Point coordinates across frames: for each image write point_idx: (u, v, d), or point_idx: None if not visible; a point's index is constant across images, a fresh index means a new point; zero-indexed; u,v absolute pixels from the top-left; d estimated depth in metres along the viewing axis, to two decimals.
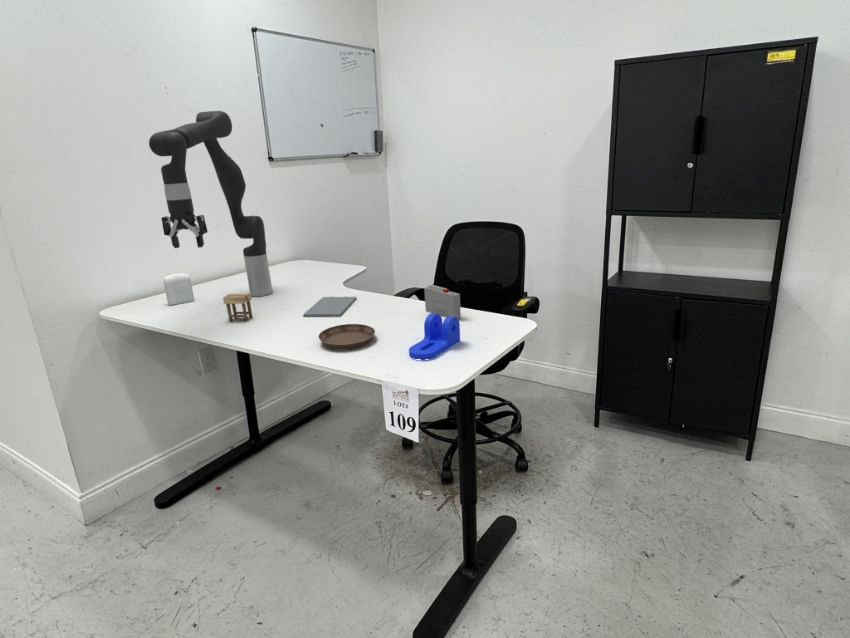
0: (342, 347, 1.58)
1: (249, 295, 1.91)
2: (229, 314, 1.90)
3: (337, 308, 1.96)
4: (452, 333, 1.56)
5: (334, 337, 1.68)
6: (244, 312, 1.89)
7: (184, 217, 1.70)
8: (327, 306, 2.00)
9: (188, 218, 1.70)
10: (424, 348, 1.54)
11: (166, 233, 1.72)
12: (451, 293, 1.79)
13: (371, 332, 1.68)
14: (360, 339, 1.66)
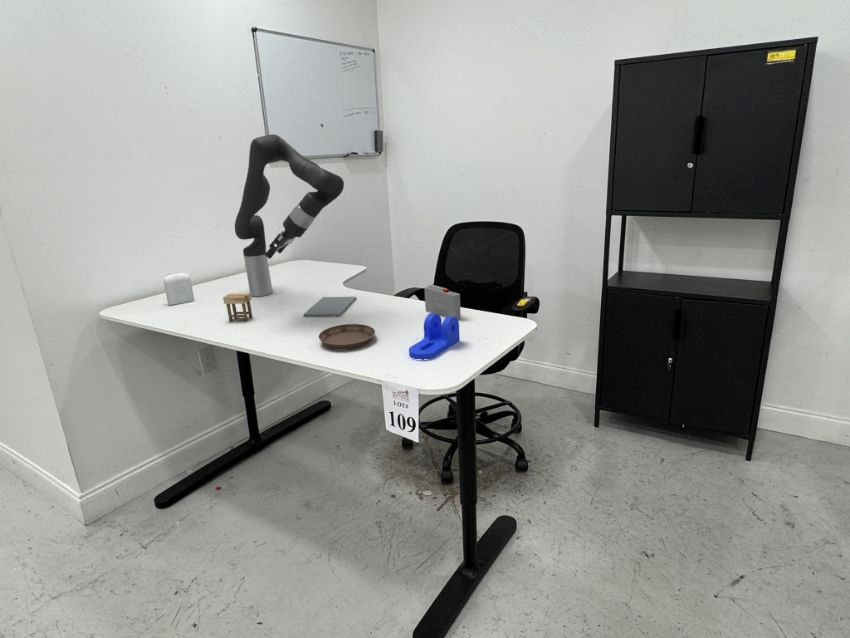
0: (342, 347, 1.58)
1: (249, 295, 1.91)
2: (229, 314, 1.90)
3: (337, 308, 1.96)
4: (451, 333, 1.56)
5: (334, 337, 1.68)
6: (244, 312, 1.89)
7: (293, 234, 1.80)
8: (327, 306, 2.00)
9: None
10: (424, 348, 1.54)
11: None
12: (451, 293, 1.79)
13: (371, 332, 1.68)
14: (360, 339, 1.66)
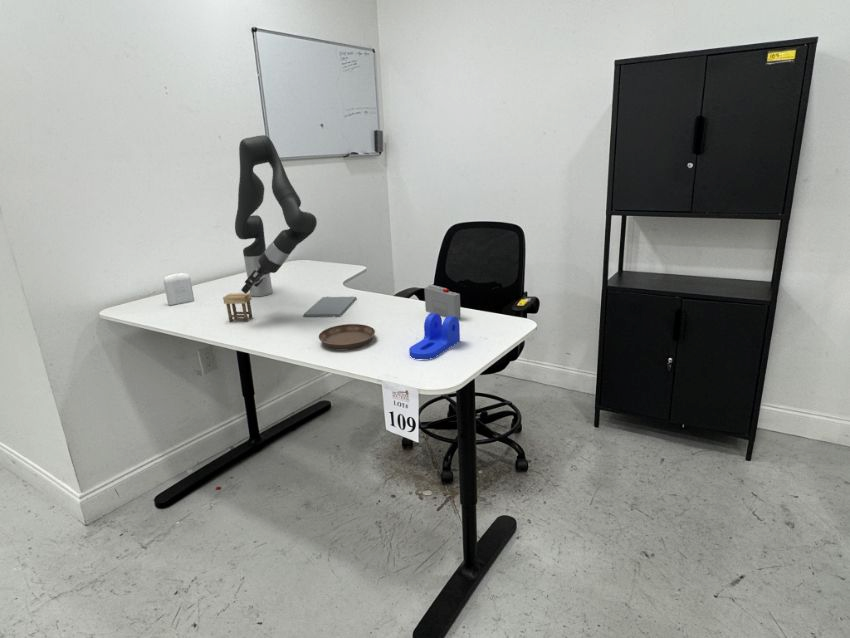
0: (342, 347, 1.58)
1: (249, 295, 1.91)
2: (229, 314, 1.90)
3: (337, 308, 1.96)
4: (452, 333, 1.56)
5: (334, 337, 1.68)
6: (244, 312, 1.89)
7: None
8: (327, 306, 2.00)
9: None
10: (424, 348, 1.54)
11: None
12: (451, 293, 1.79)
13: (371, 332, 1.68)
14: (360, 339, 1.66)
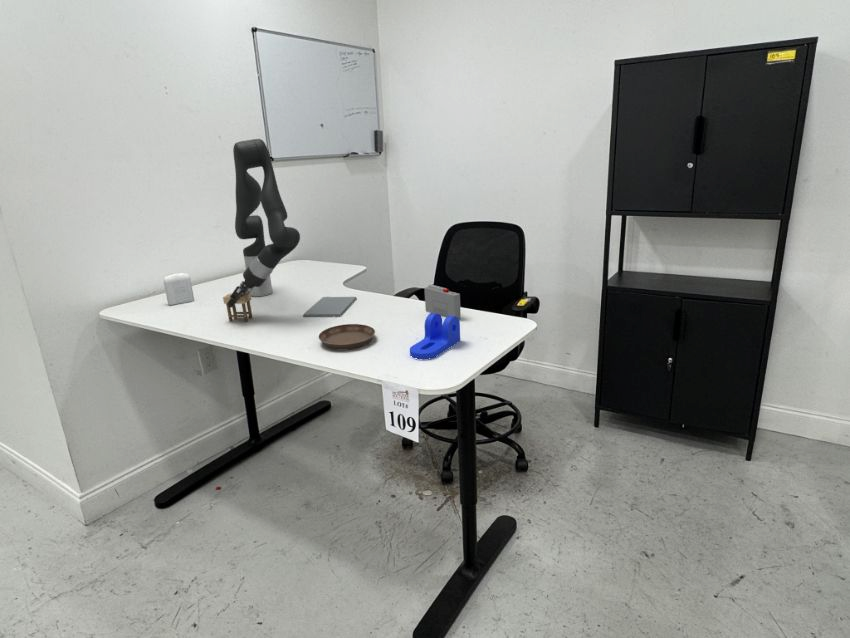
0: (342, 347, 1.58)
1: (249, 295, 1.91)
2: (229, 314, 1.90)
3: (337, 308, 1.96)
4: (452, 333, 1.56)
5: (334, 337, 1.68)
6: (244, 312, 1.89)
7: None
8: (327, 306, 2.00)
9: None
10: (425, 347, 1.54)
11: None
12: (451, 293, 1.79)
13: (371, 332, 1.68)
14: (360, 339, 1.66)
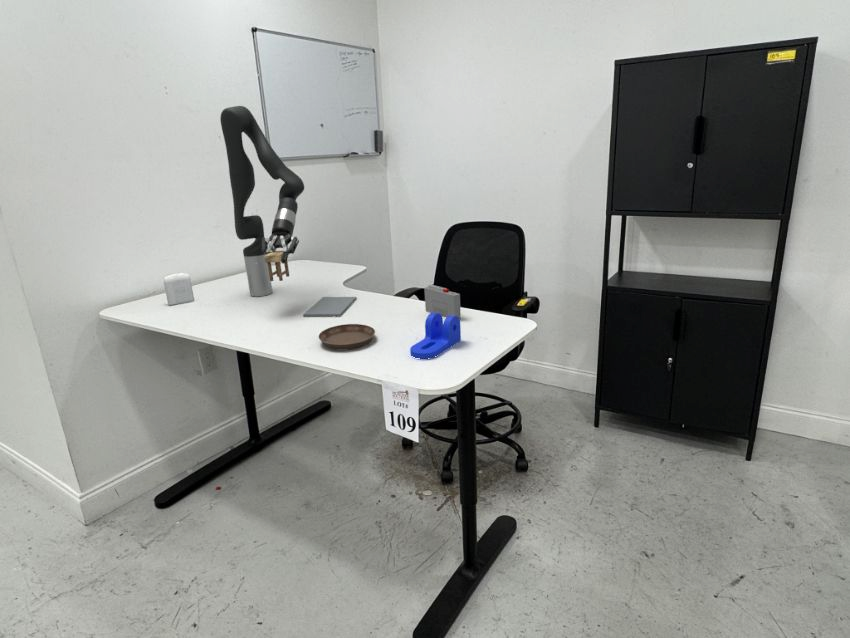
0: (342, 347, 1.58)
1: None
2: (281, 272, 1.88)
3: (337, 308, 1.96)
4: (453, 332, 1.56)
5: (334, 337, 1.68)
6: (287, 266, 1.93)
7: None
8: (327, 306, 2.00)
9: None
10: (425, 347, 1.54)
11: None
12: (451, 293, 1.79)
13: (371, 332, 1.68)
14: (360, 339, 1.66)
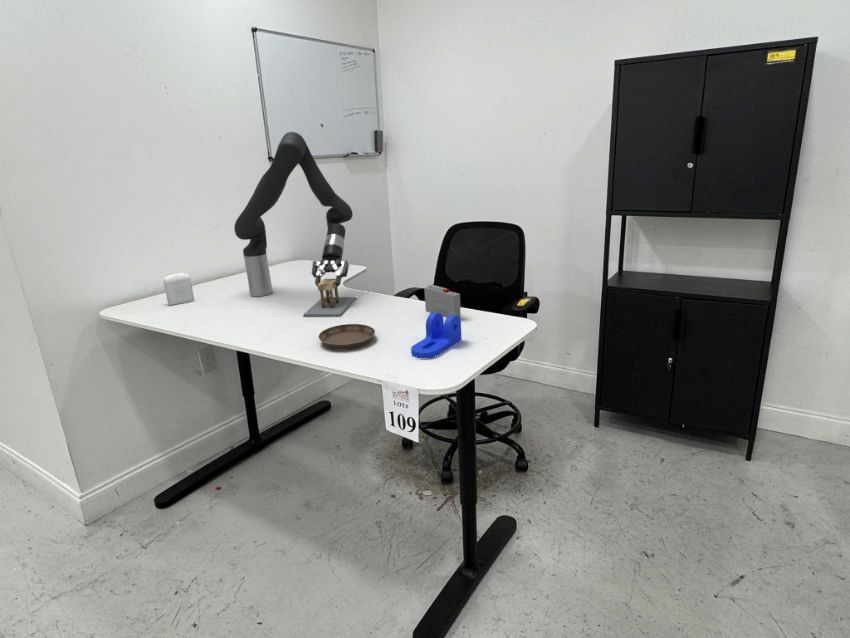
0: (342, 347, 1.58)
1: None
2: (333, 300, 1.97)
3: (337, 308, 1.96)
4: (453, 332, 1.56)
5: (334, 337, 1.68)
6: (337, 293, 2.02)
7: None
8: (327, 306, 2.00)
9: None
10: (426, 347, 1.55)
11: None
12: (451, 293, 1.79)
13: (371, 332, 1.68)
14: (360, 339, 1.66)
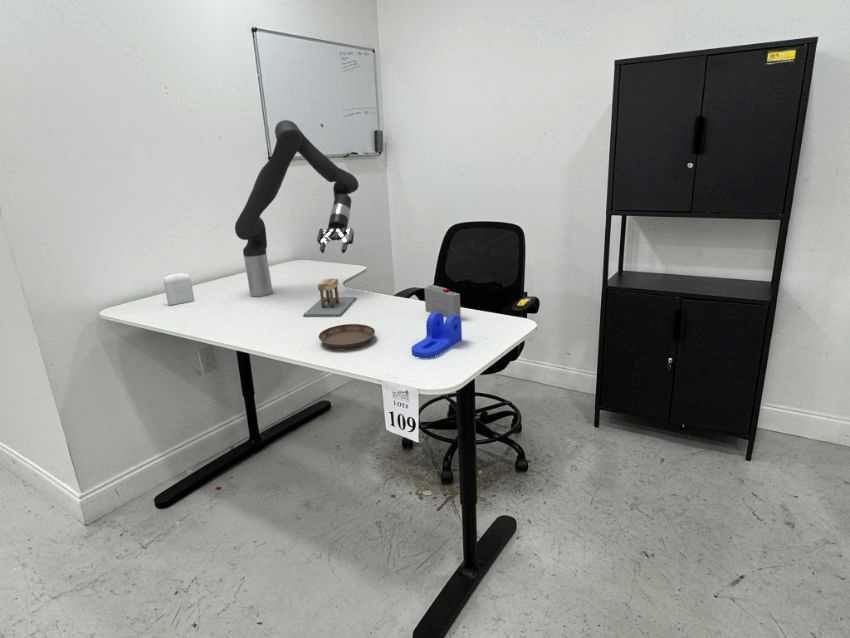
0: (342, 347, 1.58)
1: None
2: (333, 300, 1.97)
3: (337, 308, 1.96)
4: (454, 332, 1.57)
5: (334, 337, 1.68)
6: (337, 293, 2.02)
7: None
8: (327, 306, 2.00)
9: None
10: (426, 346, 1.55)
11: None
12: (451, 293, 1.79)
13: (371, 332, 1.68)
14: (360, 339, 1.66)
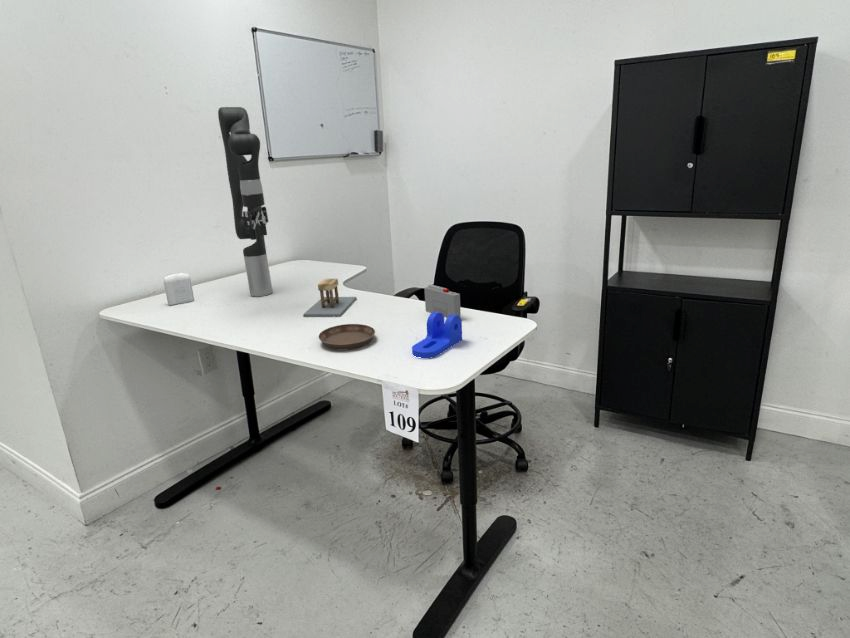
0: (342, 347, 1.58)
1: None
2: (333, 300, 1.97)
3: (337, 308, 1.96)
4: (454, 332, 1.57)
5: (334, 337, 1.68)
6: (337, 293, 2.02)
7: (259, 209, 1.92)
8: (327, 306, 2.00)
9: (261, 209, 1.93)
10: (427, 346, 1.55)
11: (252, 226, 1.86)
12: (451, 293, 1.79)
13: (371, 332, 1.68)
14: (360, 339, 1.66)
